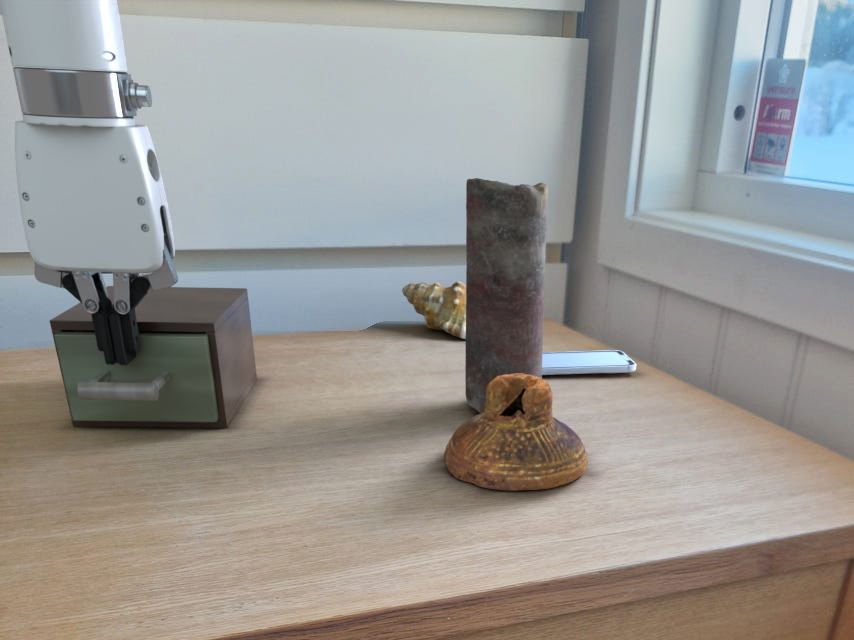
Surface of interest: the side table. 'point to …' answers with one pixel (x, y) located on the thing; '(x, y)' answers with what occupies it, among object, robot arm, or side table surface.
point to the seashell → (440, 305)
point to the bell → (516, 440)
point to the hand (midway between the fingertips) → (121, 360)
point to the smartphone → (586, 362)
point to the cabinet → (189, 312)
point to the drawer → (140, 379)
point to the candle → (503, 282)
